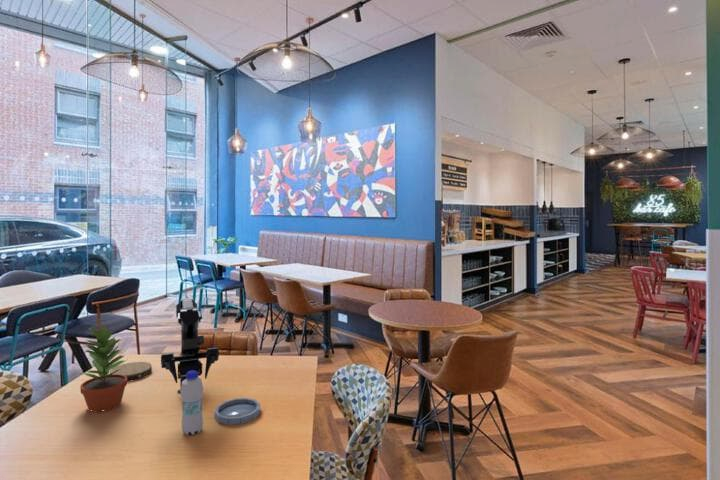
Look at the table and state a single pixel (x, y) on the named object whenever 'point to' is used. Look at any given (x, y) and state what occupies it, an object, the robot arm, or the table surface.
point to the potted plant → (103, 374)
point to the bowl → (237, 411)
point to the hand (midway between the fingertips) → (191, 380)
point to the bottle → (192, 403)
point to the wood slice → (133, 370)
